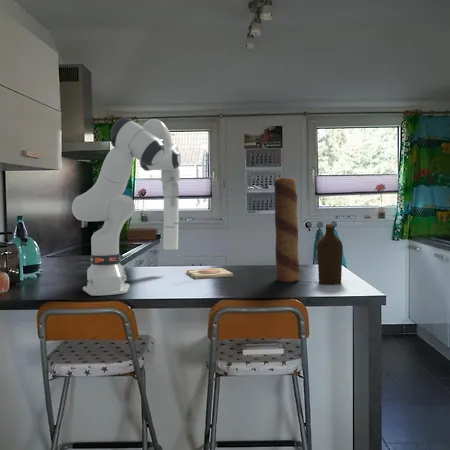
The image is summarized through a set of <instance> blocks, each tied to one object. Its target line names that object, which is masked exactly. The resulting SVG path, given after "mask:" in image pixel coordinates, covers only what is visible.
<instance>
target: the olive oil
mask: <svg viewBox="0 0 450 450" xmlns="http://www.w3.org/2000/svg"><path fill="white" fill-rule="evenodd" d="M334 226H335V225H334V223H326V224H325V233H324V235H323V236H322V237H321V238H320V239H319V240H318V242H317V245H316V252H317V266H318V267H317V269H318V270H317V271H318V272H317V273H318V283H319V284H321V285H331V286H333V285H340V284H342V273H343V272H342V270H343V269H342V267H343V249H344V247H343V246H344V245H343V242H342V241H341V239H340V238H339V237H338V235H336V234H335V228H334Z"/></svg>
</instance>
